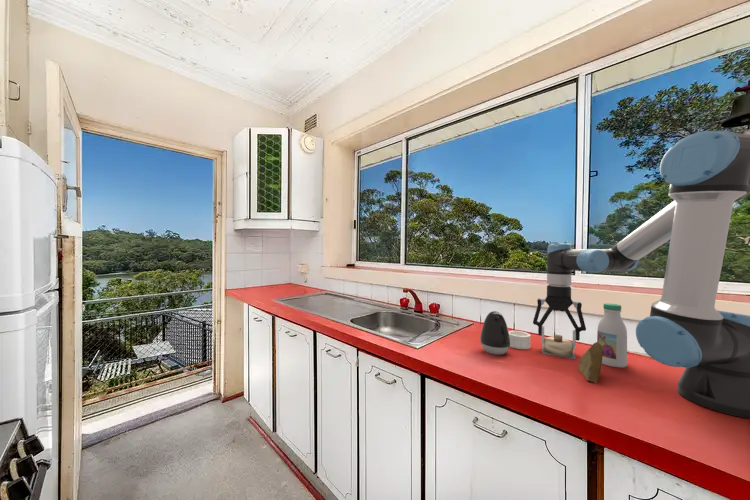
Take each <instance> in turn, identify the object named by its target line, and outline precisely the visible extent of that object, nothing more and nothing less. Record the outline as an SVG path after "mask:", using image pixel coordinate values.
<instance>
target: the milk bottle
mask: <svg viewBox="0 0 750 500" xmlns="http://www.w3.org/2000/svg"><path fill="white" fill-rule="evenodd" d="M602 307H603V311H604V312H603V315H602V317H601V318H600V321H599V322H598V325H597V333H596V334H597V335H596V336H597V337H596V342H597V343H599V344H601V345H602V346H603V354H602V364H603V365H606V366H609V367H615V368H626V367H628V364H627V363H628V331H627V327H626V324H625V323H624V321H623V318H622V315H621V312H622V305H621V304H617V303H611V302H610V303H609V302H607V303H603V306H602ZM602 364H601V365H602Z"/></svg>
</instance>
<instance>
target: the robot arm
mask: <svg viewBox="0 0 750 500" xmlns="http://www.w3.org/2000/svg"><path fill="white" fill-rule="evenodd" d="M659 172H660V173H659V174H660V176H661V178H663V179H664V180H665V182H666V183H669V188H668V197H670V199H672V200H673V201H672V202H671V203H669V204H668V205H666V206H665V207H664V208H662V209H661V210H659V212H657V213H656V214H654V215H653V216H652V217H651V218H650V219H648V220H646V221H645V222H644V223H642V224H641V225H640V226H639V227H637V228H636V229H634V230H633V231H632V232H631V233H629V234H628V235H627V236H626V237H624V238H623V239H621V240H620V241H619V242H617V243H616V244H615V245H614V246H612V247H611V248H604V249H603V248H601V249H600V248H599V249H598V248H573V247H572V244H571V243H550V244H548V246H547V254H546V257H547V258H546V260H547V261H546V262H547V264H546V265H547V266H546V268H547V269H546V271H547V274H546V284H547V286H546V297H545V298H537V300H536V302H537V306H536V309H535V314H534V317H533V321H532V324H533V325H535V326H537V327H538V328H537V329H538V330H537V333H538V334H537V335H539V336H541V346H542V345H543V346H544V338H545V326H544V324H545V323H546V321H547V320H548V317H549V316H550V315H551V313H552V312H553V311H554V312H555V311H556V312H557V311H559V312H565V313H566V315H567V317H568V319H569V321H570V322H571V324H572V327H573V328H574V329H572V341H571V342H572V343H573V351H576V350H577V341H580V336H581V335H580V333H581V332H585V331H586V330H587V327H586V323H585V319H584V315H583V312H582V306H583V305H582V304H583V303H582V302H581V301H573V300H572V286H571V285H572V271H576V272H585V273H589V274H590V273H602V272H619V273H622V272H628V271H633V270H634V269H636V268H637V267H638V264H639V263H640V259H642V258H644V257H645V256H647V255H648V254H649V253H651V252H653V251H655V250H656V249H658V248H659V247H660V246H662V245H664V244H665V243H667V242H668V241H669V247H668V252H667V253H668V255H667V259H666V266H665V274H664V279H663V285H662V292H661V298H660V299H659V300H656V301H654V302H652V303H651V307H650V312H649V316H646V317H645V318H643V319H641V320H640V321H638V323H637V325H636V328H635V336H636V340H637V342H638V344H639V346H640V347H641V348H642V349H643V351H644V352H645V353H646V355H648V357H650V358H651V359H653V360H655V361H656V362H658V363H660V364H662V365H666V366H667V367H673V368H674V367H675V368H684V371H683V372H682V374H681V376H680V378H679V379H678V382H677V392H678V394H680V395H681V396H682V397H684V398H685V399H686V400H689V401H691V402H692V403H694V404H696V405H700V406H702V407H705V408H707V409H711V410H713V411H717V412H720V413H723V414H727V415H731V416H734V417H739V418H744V419H750V315H749V314H742V313H735V312H728V311H724V310H723V311H722V310H717V309H716V308H715V305H716V301H717V294H718V289H719V283H720V278H721V273H722V267H723V262H724V261H723V260H724V256H725V251H726V245H727V240H728V235H729V228H730V224H731V218H732V213H733V208H734V204H735V203H737V202H738V201H740V200H742V199H743V198H745V197H747V196H748V195H750V134H746V133H738V132H731V131H728V130H715V131H714V130H706V131H698V132H696V133H692V134H689V135H688V136H685V137H683V138H681V139H680V140H678V141H677V142H676V143H675V144H674V145H673V146H671V147H670V148H669V149H668V150H667V151H666V152H665V154H664V155H663V157H662V158H661V161H660V165H659ZM544 303H546V305H547V306H548V308H547V310H546V311H545V312H544V314H543V316H542V317H541V319H540V320H539V315H540V312H541V309H542V305H544ZM571 306H573V307H574V308H575V309H576V313H577V317H578V320H579V324H580V326H578V323H577V322H576V319H574V317H573V314H572V313H571V310H569V308H570V307H571ZM538 320H539V321H538Z"/></svg>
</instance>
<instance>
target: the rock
mask: <svg viewBox="0 0 750 500" xmlns="http://www.w3.org/2000/svg"><path fill="white" fill-rule="evenodd" d="M602 354H603V346H602V345H601V344H599V343H597V341H596V342H593V344H591V346H590V347H589V348H588V349H587V350H586V352H584V353H583V354H582V356H581V357H580V359H579V365H578V372H580V373H581V374H582V375H583V377H585V379H586V380H587V382H591V383H595V384H596V383H597V384H598V383H599V379H600V377H601V376H600V374H601V368H602Z"/></svg>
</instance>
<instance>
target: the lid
mask: <svg viewBox="0 0 750 500" xmlns="http://www.w3.org/2000/svg"><path fill="white" fill-rule="evenodd" d="M572 342H573V341H572V340H569V339H566V338H563V335H561V334H553V336H548V337H544V345H543V346H544V351H545V352H547V353H550V354H553V355H557V356H556V357H559V356H565V357H568V356H572V355H573V351H574V350H573V343H572ZM553 355H552V356H553ZM565 357H564V358H565Z"/></svg>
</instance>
